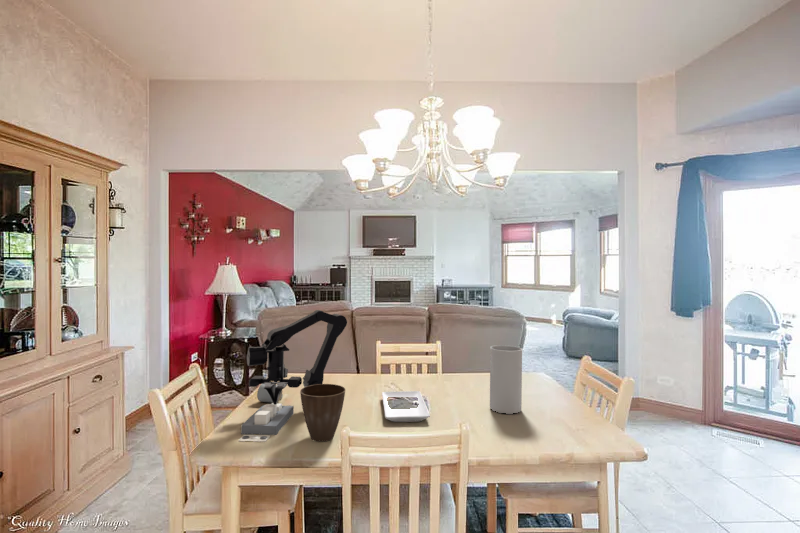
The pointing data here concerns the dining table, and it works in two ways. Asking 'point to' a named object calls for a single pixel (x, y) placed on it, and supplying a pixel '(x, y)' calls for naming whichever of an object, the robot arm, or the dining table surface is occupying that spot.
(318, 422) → the plant pot
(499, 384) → the cylinder vase
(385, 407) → the tray
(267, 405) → the button middle
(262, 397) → the ceramic mug
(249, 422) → the button board
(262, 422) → the button
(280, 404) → the button
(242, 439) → the pattern card
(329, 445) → the dining table surface
